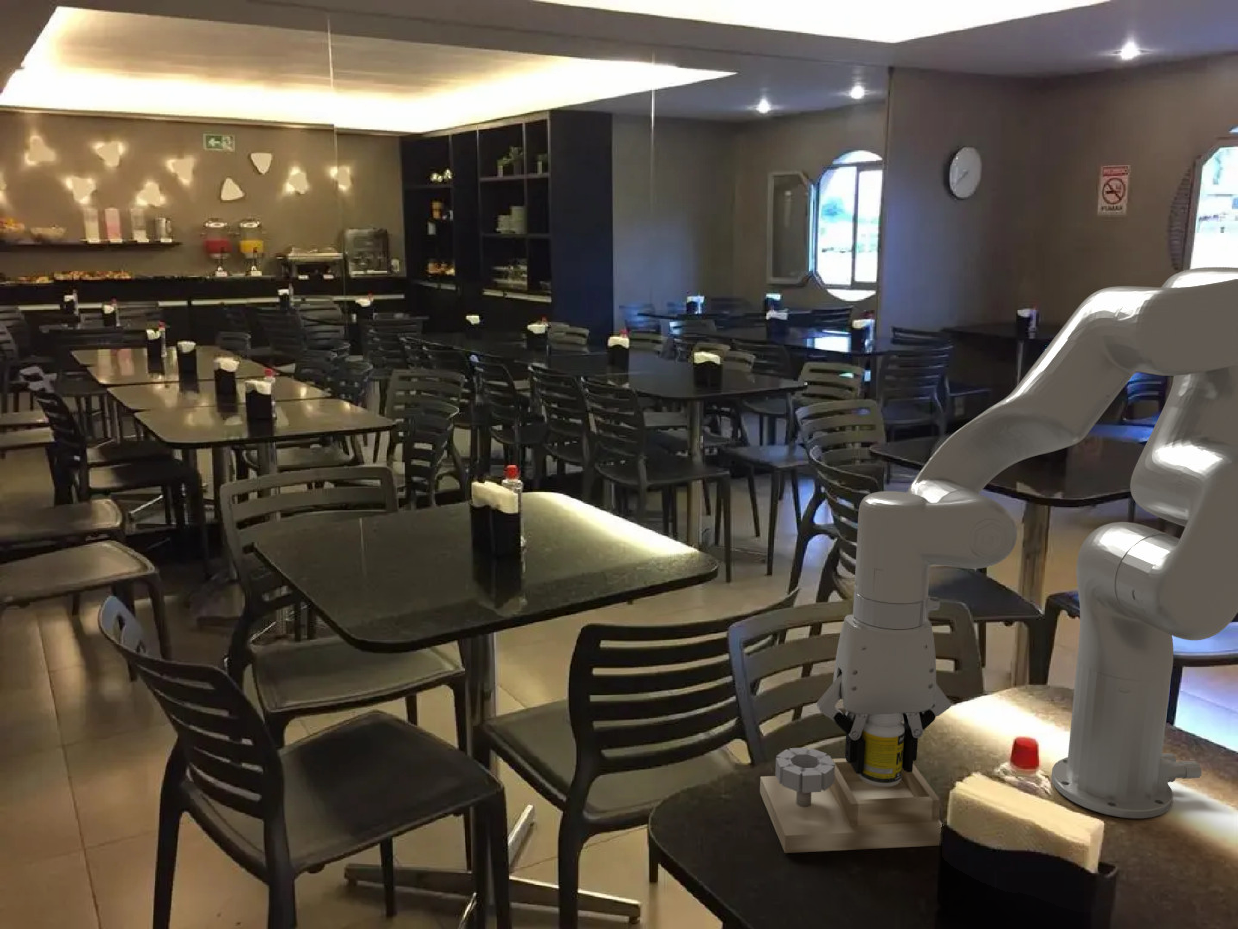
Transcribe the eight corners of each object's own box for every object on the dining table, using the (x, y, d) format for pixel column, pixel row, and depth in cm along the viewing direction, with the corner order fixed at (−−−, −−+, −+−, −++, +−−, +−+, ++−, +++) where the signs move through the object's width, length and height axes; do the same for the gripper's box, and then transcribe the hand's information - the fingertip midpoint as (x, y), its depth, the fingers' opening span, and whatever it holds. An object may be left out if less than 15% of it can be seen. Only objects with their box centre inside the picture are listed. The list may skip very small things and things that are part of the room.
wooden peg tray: (903, 786, 116) (905, 742, 115) (943, 845, 104) (947, 797, 103) (759, 792, 115) (761, 748, 114) (784, 853, 103) (786, 805, 102)
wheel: (823, 763, 111) (824, 746, 111) (839, 791, 105) (840, 774, 105) (771, 765, 111) (771, 749, 110) (784, 793, 105) (784, 776, 104)
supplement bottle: (903, 790, 106) (907, 717, 104) (857, 786, 107) (861, 713, 105) (899, 768, 111) (904, 698, 109) (856, 764, 112) (860, 694, 110)
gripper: (953, 595, 109) (941, 748, 113) (801, 599, 108) (795, 753, 111) (982, 619, 102) (969, 782, 105) (820, 623, 100) (812, 787, 104)
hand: (879, 765), depth 108 cm, fingers closed on supplement bottle, 4 cm apart
